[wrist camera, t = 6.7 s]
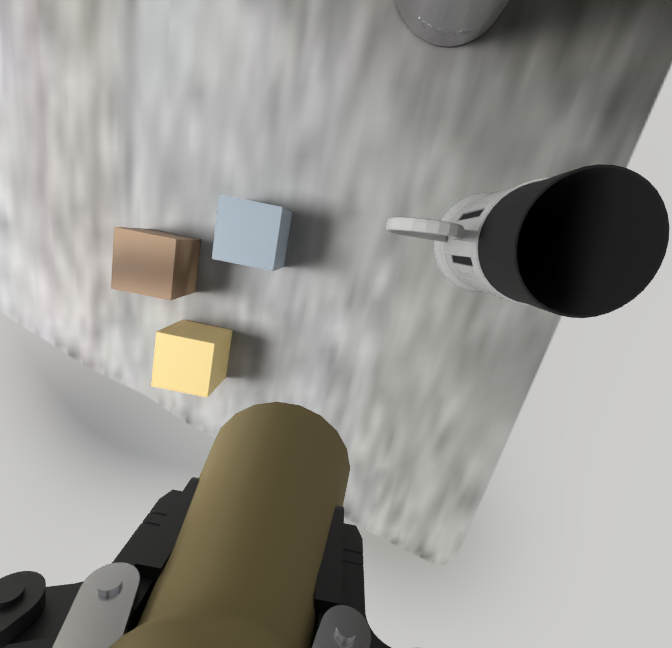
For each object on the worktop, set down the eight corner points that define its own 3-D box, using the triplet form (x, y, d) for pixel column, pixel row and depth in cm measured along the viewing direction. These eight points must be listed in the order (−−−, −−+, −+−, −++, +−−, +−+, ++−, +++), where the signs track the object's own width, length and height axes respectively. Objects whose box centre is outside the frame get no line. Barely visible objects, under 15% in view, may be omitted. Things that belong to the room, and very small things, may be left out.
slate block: (238, 201, 33) (218, 194, 28) (292, 212, 33) (282, 207, 28) (231, 256, 34) (211, 258, 29) (284, 266, 34) (272, 270, 29)
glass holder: (519, 297, 34) (650, 339, 19) (368, 278, 34) (381, 305, 19) (543, 199, 32) (709, 161, 17) (382, 178, 32) (409, 124, 17)
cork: (350, 403, 15) (350, 837, 4) (349, 528, 16) (346, 1100, 5) (205, 400, 15) (-160, 803, 4) (216, 523, 16) (-41, 1062, 6)
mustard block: (182, 319, 35) (156, 331, 30) (232, 329, 35) (214, 343, 31) (177, 366, 36) (151, 385, 32) (226, 376, 37) (207, 397, 32)
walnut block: (148, 228, 34) (114, 226, 29) (201, 239, 34) (176, 239, 29) (144, 281, 35) (111, 288, 30) (195, 291, 35) (170, 300, 30)
